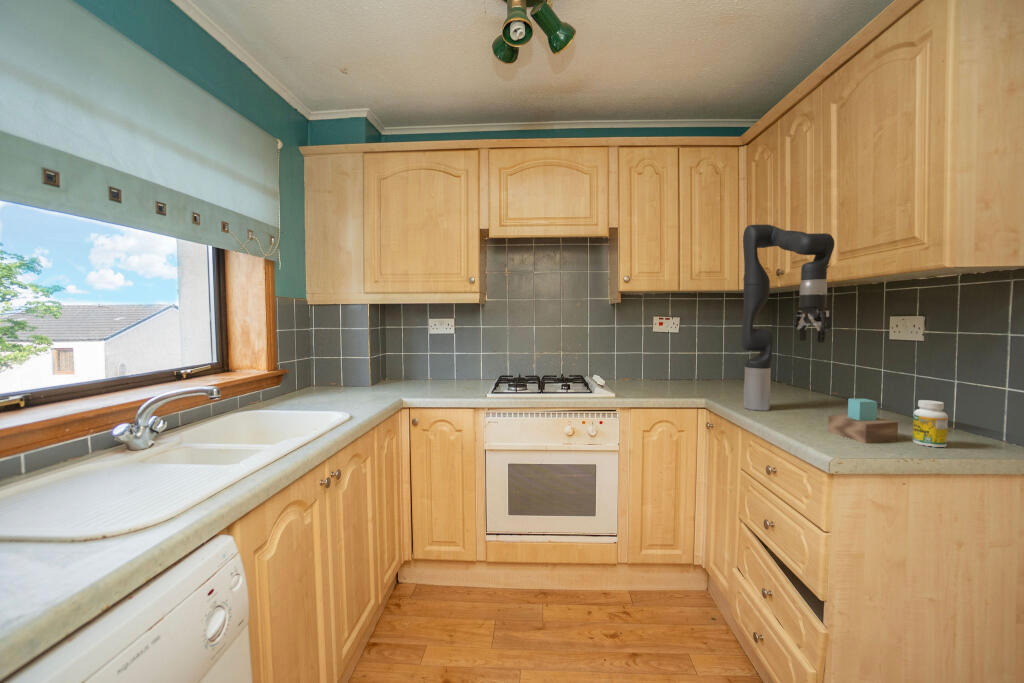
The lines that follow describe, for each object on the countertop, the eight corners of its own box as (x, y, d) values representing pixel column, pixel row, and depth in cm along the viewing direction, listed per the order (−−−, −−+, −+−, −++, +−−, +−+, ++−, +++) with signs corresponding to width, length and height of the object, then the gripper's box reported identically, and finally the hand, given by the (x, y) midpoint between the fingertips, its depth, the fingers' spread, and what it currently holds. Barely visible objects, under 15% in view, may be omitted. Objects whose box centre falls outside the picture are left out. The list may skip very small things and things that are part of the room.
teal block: (847, 416, 135) (848, 398, 135) (864, 417, 135) (864, 398, 135) (859, 420, 130) (860, 401, 130) (876, 420, 130) (877, 401, 130)
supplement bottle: (954, 448, 121) (956, 404, 120) (928, 448, 121) (931, 404, 120) (929, 440, 128) (931, 399, 127) (905, 441, 128) (907, 399, 127)
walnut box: (828, 433, 138) (828, 415, 137) (857, 431, 140) (858, 413, 140) (865, 444, 126) (866, 424, 126) (897, 441, 128) (898, 422, 128)
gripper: (787, 294, 148) (786, 340, 149) (817, 292, 134) (815, 343, 135) (808, 294, 148) (807, 340, 149) (840, 292, 134) (838, 342, 135)
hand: (811, 341), depth 142 cm, fingers open, 8 cm apart
